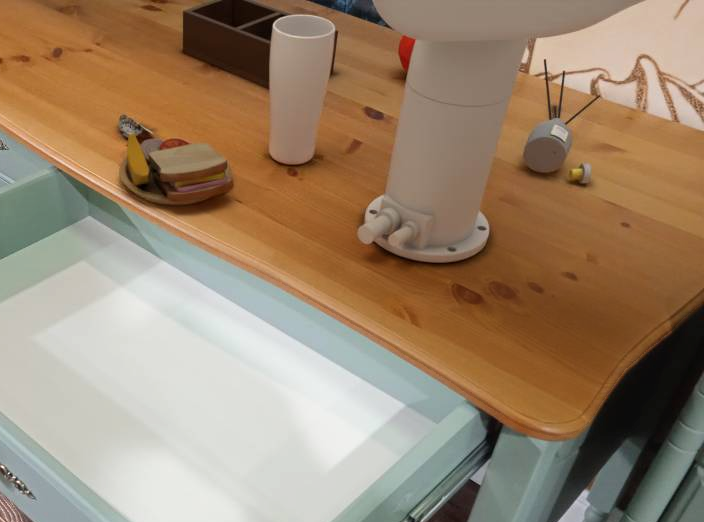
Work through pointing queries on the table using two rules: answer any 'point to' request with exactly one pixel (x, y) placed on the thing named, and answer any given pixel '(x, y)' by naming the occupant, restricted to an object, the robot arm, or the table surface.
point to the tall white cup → (298, 84)
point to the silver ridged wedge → (130, 126)
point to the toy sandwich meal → (174, 171)
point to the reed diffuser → (553, 142)
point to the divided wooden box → (234, 36)
